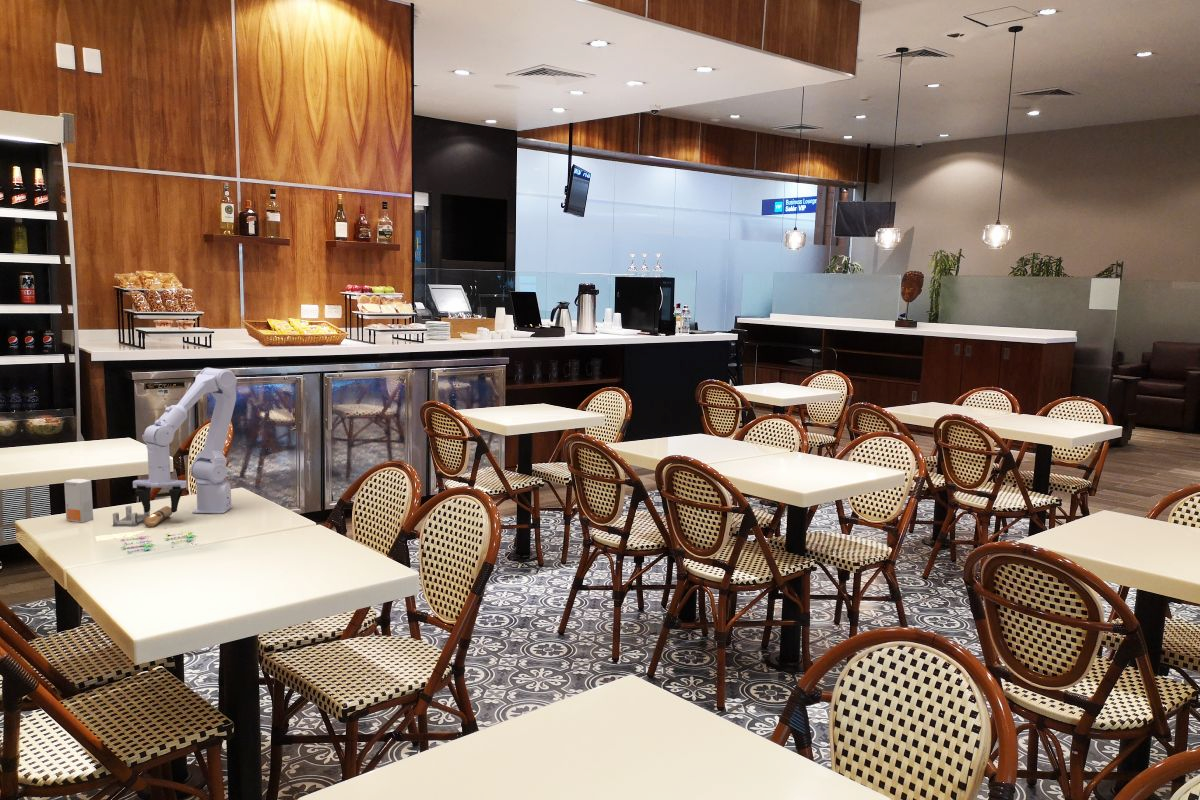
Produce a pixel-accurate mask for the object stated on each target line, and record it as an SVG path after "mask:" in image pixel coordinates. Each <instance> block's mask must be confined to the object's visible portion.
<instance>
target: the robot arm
mask: <svg viewBox="0 0 1200 800" xmlns="http://www.w3.org/2000/svg"><path fill="white" fill-rule="evenodd" d="M237 382H238V378H237V377H236V375H235V374H234V372H233V371H232V370H230V369H227V368H224V369H223V368H215V367H214V368H213V367H204V368H203V369H202V370H200V372H199V373H198V374H196V376H195V379H194V382H193V384H192V385H190V387H189V389H188V390H187V391H186V392H185V394H184V395H182V396H183V397H181V399H180V400H179V401H178V403H177V404H172V405H170V406H167V407H166V408H165V409H164V413H163V414H162V415H160V417H159V418H158V419H156V420H155V421H154V424H151V425H149V426H147V427H146V428H145V430H144V433H143V434H142V435H141V437H142V440H143V442H144V443H145V444H146V450H147V467H148V468H147V470H148V472H147V473H148V479H135V480H133V481H132V489H135V490H134V491H135V494H136V495H137V497H138V499H139V501H140V502H141V504H142V508H143V512H144V511H145V512H149V511H150V512H151V493H152V492H151V491H152V488H161V489H162V488H163V489H165V488H167V489H168V488H169V489H168V492H169V497H170V508H171V511H172V514H174V513H176V512H178V506H179V503H180V500H181V496H182V494H183V493H184V490H185V488H187V487H188V485H187V480H180V479H171V457H170V456H171V455H170V454H171V453H170V444H172V442H173V440H174V438H175V433H176V431H177V430H178V429H179V428H180V427H181V426H182V424H183V423H184V422H185V421H186V420H187V419H188V411H189V410H190V409H191V408H192V407H193V406H194V405H195V404H196V403H198V401H199V400H201V398H202V397H203V396H204V395H206V394H209V393H210V394H212V396H213V398H214V399H215V404H214V408H213V412H212V416H211V419H210V423H209V427H208V430H207V436H206V439H205V443H204V447H203V449H202V450H200V452H198V453H197V454H196V457H195V460H194V462H193V463H192V464H191V465H190V466H191V467H190V474H191V476H192V478H193V479H194V481H195V483H196V484H195V486H196V508H195V509H194V510H193V511H192V514H225V513H226V512H227V511H229V510H230V509H232V508H233V505H232V487H231V484H230V482H225V481H224V479H225V478H226V477H227V462H228V460H227V458H226V456H225V455H224V454H223V453H224V449H225V444H226V440H227V437H228V434H229V429H230V425H231V421H232V417H233V412H234V409H235V405H236V402H237V390H236V386H237Z"/></svg>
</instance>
